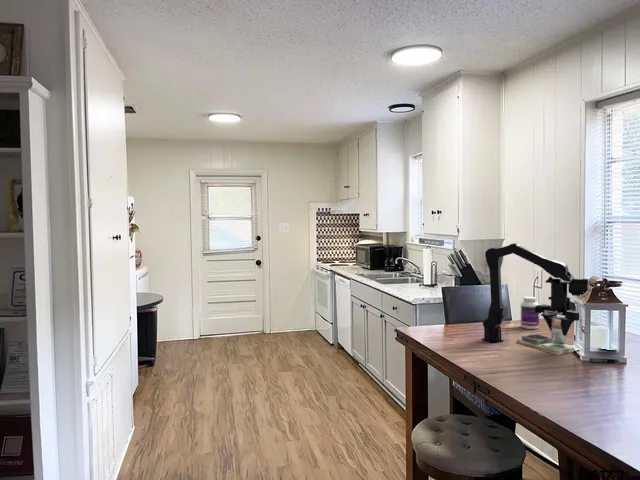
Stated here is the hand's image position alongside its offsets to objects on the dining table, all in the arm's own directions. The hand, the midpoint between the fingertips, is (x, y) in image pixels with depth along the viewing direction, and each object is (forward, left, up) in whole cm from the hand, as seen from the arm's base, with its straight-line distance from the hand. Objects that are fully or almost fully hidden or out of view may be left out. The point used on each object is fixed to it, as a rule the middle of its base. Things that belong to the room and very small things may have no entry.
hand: (558, 334), depth 182 cm
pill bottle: (+19, +32, -6) cm, 38 cm away
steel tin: (0, 0, -4) cm, 4 cm away
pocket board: (0, +5, -6) cm, 8 cm away
